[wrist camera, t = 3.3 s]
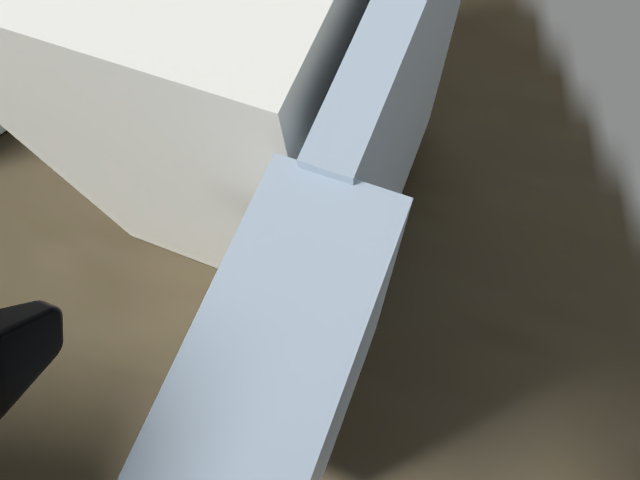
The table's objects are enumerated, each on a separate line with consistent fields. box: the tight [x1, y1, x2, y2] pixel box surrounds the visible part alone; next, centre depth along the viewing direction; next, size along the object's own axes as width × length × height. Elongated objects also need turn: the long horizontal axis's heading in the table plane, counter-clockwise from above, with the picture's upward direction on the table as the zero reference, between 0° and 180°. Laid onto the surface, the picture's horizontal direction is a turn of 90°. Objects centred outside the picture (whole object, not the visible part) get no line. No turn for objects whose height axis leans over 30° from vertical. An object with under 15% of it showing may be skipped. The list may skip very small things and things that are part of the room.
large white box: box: [0, 0, 370, 268], centre depth 14 cm, size 9×8×13 cm
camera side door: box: [117, 0, 461, 480], centre depth 12 cm, size 14×2×11 cm, turn 158°
